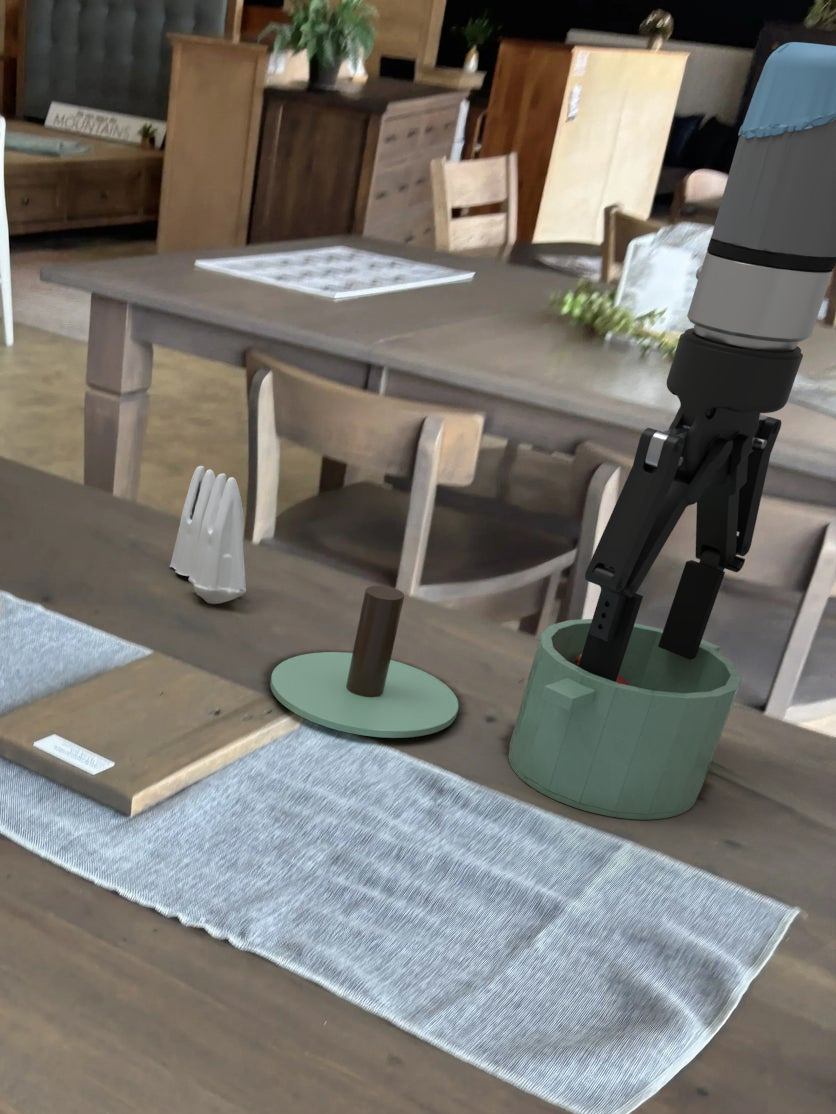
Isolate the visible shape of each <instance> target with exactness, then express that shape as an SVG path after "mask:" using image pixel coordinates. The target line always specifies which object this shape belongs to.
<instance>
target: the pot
mask: <svg viewBox="0 0 836 1114" xmlns="http://www.w3.org/2000/svg"><path fill="white" fill-rule="evenodd" d="M592 619H593V618H584V619H581V618H580V619H569V620H568V619H567V620H565V621H561V622H557V623H555V624H551V625H548V626H547V628H546V629H545V630H544V631H543V632H542V633H541V634H540V635H539V639H538V643H537V645H536V650H535V653H534V656H533V659H532V664H531V667H530V671H529V675H528V678H527V682H526V685H525V688H524V692H523V695H522V699H521V702H520V703H521V704H520V706H519V710H518V713H517V716H516V721H515V725H514V728H513V732H512V735H511V739H510V742H509V746H508V747H509V748H508V749H509V751H508V762H509V766H510V767H511V769H512V771H513V772H514V773H515V774H516V775H517V776H518V777H519V778H520V779H521V781H523V782H524V783H525V784H527V786H529V787H531V788H533V789H534V790H535V791H537V792H539V793H540V794H542V795H544V796H546V797H547V798H550V799H552V800H554V801H556V802H559V803H562V804H564V805H566V806H569V807H571V808H574V809H578V810H581V811H584V812H588V813H592V814H595V815H601V816H606V817H611V818H618V819H624V820H625V819H626V820H638V821H639V820H643V821H645V820H647V821H649V820H650V821H651V820H661V819H668V818H673V817H676V816H679V815H682V814H684V813H686V812H688V811H689V810H690V809H692V807H694V805H695V803H696V802H697V800H698V796H699V794H700V792H701V790H702V788H703V785H704V782H705V780H706V777H707V775H708V772H709V769H710V767H711V764H712V761H713V758H714V755H715V753H716V751H717V747H718V745H719V742H720V740H721V737H722V734H723V731H724V729H725V726H726V723H727V720H728V718H729V715H730V714H731V710H732V708H733V705H734V703H735V700H736V697H737V694H738V691H739V688H740V686H741V683H742V682H743V681H742V680H743V676H742V675H741V673H740V670H739V669H738V667H737V664H735V663H734V662H733V661H731V660H730V659H729V658H727V656H725V655H723V654H722V653H721V652H720V650H721V646H719V645H717V644H715V643H712V642H709V641H707V640H705V639H702V640H701V643H700V646H699V649H698V652H697V654H696V657H695V658H693V659H691V660H689V659H687V658H684V657H682V656H680V655H677V654H675V653H672V652H670V651H667V650H665V649H662V648H660V647H658V645H659V642H660V639H661V636H662V633H663V630H664V628H659V627H655V626H650V625H647V624H646V625H645V624H640V623H636V622H635V624H634V627H633V630H632V633H631V636H630V639H629V643H628V646H627V649H626V652H625V655H624V658H623V661H622V665H621V668H620V671H619V674H620V675H621V676H622V677H623V678H624V679H625V680H626V681H627V682H628V684H629V685H624V684H620V683H617V682H614V681H611V680H608V679H605V678H602V677H600V676H597V675H594V674H591V673H589V672H587V671H585V670H583V669H581V668H580V667H578V666H576V663H575V659H576V658H577V657H578V656H579V655H580V654H582V652H583V649H584V646H585V642H586V639H587V636H588V632H589V629H590V625H591V622H592Z"/></svg>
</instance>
